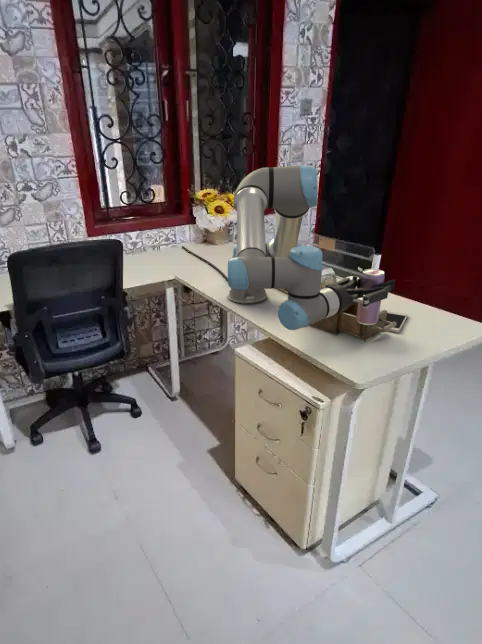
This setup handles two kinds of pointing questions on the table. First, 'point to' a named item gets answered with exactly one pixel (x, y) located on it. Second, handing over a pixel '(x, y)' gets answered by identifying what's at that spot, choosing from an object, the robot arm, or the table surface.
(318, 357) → the table surface
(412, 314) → the table surface
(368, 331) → the drawer
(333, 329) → the cabinet
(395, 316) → the smartphone
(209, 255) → the table surface
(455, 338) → the table surface
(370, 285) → the beverage can
